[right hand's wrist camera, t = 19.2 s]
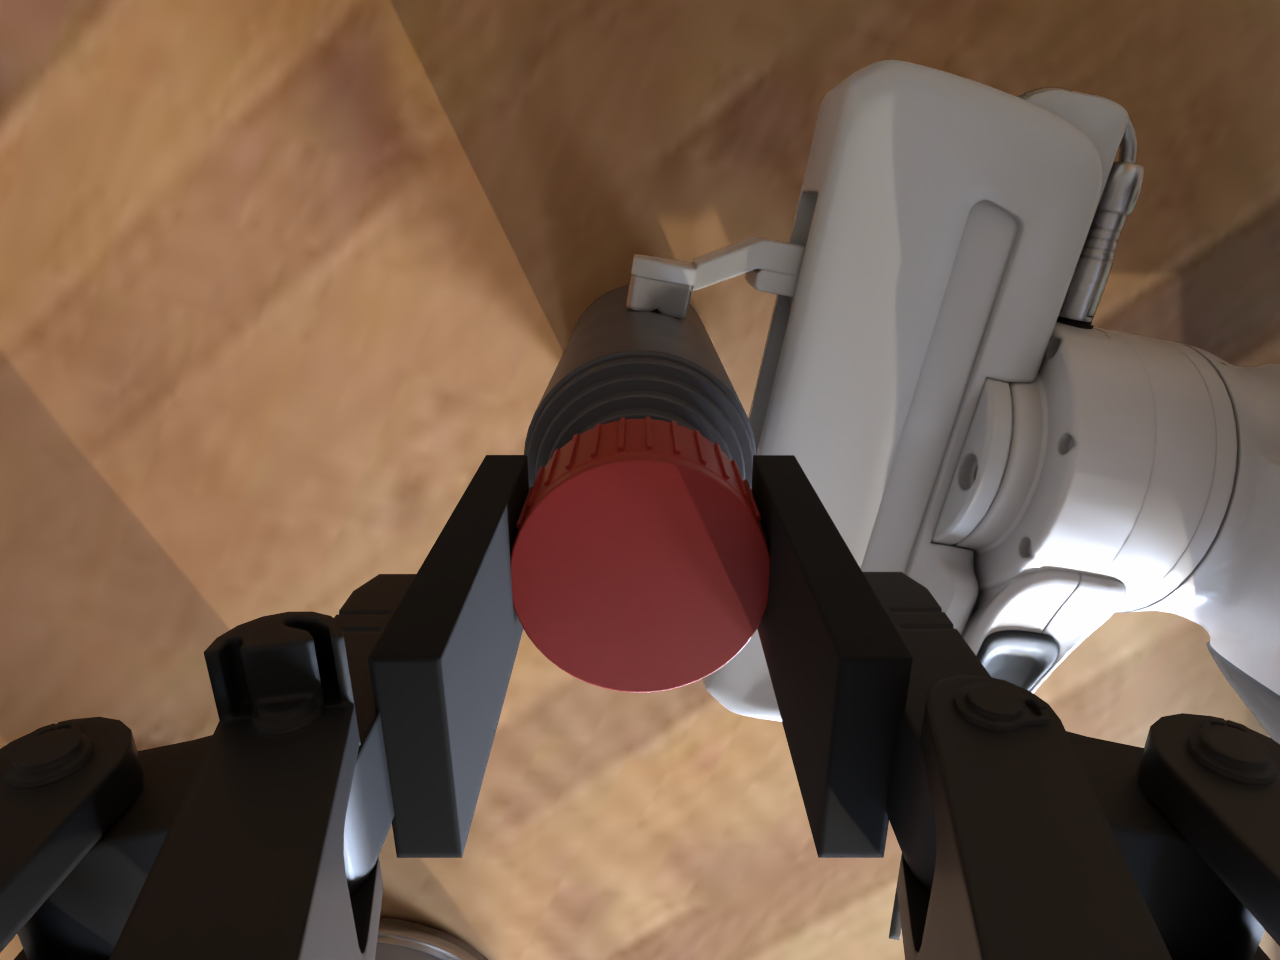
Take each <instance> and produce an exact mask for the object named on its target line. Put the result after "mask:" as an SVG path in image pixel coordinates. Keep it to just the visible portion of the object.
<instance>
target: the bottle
mask: <svg viewBox="0 0 1280 960" xmlns="http://www.w3.org/2000/svg"><path fill="white" fill-rule="evenodd" d="M628 289H629V286H624V287H620V288H617V289H615V290H612V291H610V292H608V293H606V294H604V295H603V296H601V297H600V298H599V299H597V300H596V301H595V302H594V303H593V304H592V305H591V306H590V307H589V308H588V309H587V310H586V311H585V313H584V314H583V315H582V317H581V319H580V320H579V322H578V324H577V326H576V328H575V330H574V332H573V334H572V337H571V339H570V341H569V343H568V345H567V347H566V349H565V351H564V353H563V355H562V357H561V359H560V362H559V364H558V366H557V368H556V370H555V372H554V374H553V376H552V378H551V380H550V382H549V385H548V387H547V389H546V391H545V393H544V395H543V397H542V399H541V401H540V403H539V405H538V407H537V410H536V412H535V414H534V416H533V419H532V421H531V424H530V426H529V429H528V433H527V437H526V441H525V450H524V455H527V458H528V476H529V489H530V487H533V486H534V483H535V480H536V477H537V475H538V472H539V469H540V468H541V466H542V467H545V466H546V465H547V463H548V462H549V461H550V459H551V458H552V457H553V454H554V451H555V450H556V449H557V448H558V449H559V450H560V449H561V448H562V447H563V446H565V445H566V444H567V443H568V442H570V441H571V440H572V439H573V436H574V435H575V434H578V435H580V434H582V433H584V432H586V431H588V430H590V429H592V428H595V427H596V424H599V423H600V424H601V425H603V424H607V423H610V422H614V421H620V418H624V417H625V420H626V419H646V417H651V419H654V420H662V421H666V422H670V423H671V421H676V424H678V425H680V426H683V427H686V428H688V429H691V430H693V431H695V429H696V430H698V431H699V432H700V435H702V436H704V437H705V438H707V439H708V440H710V441H711V442H712V443H714V444H715V443H718V444H719V445H720V447H721V450H722V451H723V452H724V453H725V454H726V455H727V456H728V458H729V459H730V460H731V461H732V460H735V461H736V463H737V466H738V469H739V471H740V474H741V476H742V478H743V480H746V479H747V481H748V483H749V486H750V488H751V485H752V467H753V455H756V445H755V440H754V435H753V431H752V428H751V425H750V422H749V419H748V417H747V415H746V413H745V411H744V409H743V407H742V405H741V402H740V400H739V398H738V396H737V394H736V392H735V390H734V388H733V386H732V384H731V382H730V379H729V377H728V375H727V373H726V371H725V369H724V367H723V365H722V363H721V361H720V359H719V357H718V354H717V352H716V350H715V348H714V346H713V344H712V342H711V340H710V338H709V336H708V334H707V332H706V329H705V327H704V325H703V323H702V321H701V320H700V318H699V316H698V315H697V313H696V312H695V311H694V309H693V308H692V307H691V306H690V305H688V309H687V314H686V319H682V318H676V317H670V316H667V315H664V314H662V313H661V312H660V311H659V310H658V309H655V310H653V311H650V312H643V311H637V310H633V309H629V308H627V307H626V303H627V296H628Z"/></svg>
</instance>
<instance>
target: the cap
mask: <svg viewBox="0 0 1280 960" xmlns="http://www.w3.org/2000/svg"><path fill="white" fill-rule="evenodd" d="M761 519H762V518H761V515H760V513H759V510H758V507H757V505H756V502H755V499H754V496H753V494H752V491H751V488H750V486H749V483H748V481H747V479H746V480H743V478H742V476H741V474H740V471H739V469H738V466H737V463H736V461H735V460H732V461H731V460H730V459H729V458H728V456H727V455H726V454H725V453H724V452H723V451H722V450H721V447H720V445H719V444H718V443H715V444H714V443H712V442H711V441H710V440H708V439H707V438H705V437H704V436H702V435H700V432H699V431H698V430H696V429H695V431H693V430H691V429H688V428H686V427H683V426H680V425H678V424H676V421H671V423H670V422H666V421H662V420H654V419H651V417H646V419H626V420H625V417H624V418H620V421H614V422H610V423H607V424H603V425H601V424H600V423H599V424H596V427H595V428H592V429H590V430H588V431H586V432H584V433H582V434H580V435H578V434H575V435H574V436H573V439H572V440H571V441H570V442H568V443H567V444H566V445H565V446H563V447H562V448H561V449H560V450H559V449H558V448H557V449H556V450H555V451H554V454H553V457H552V458H551V459H550V461H549V462H548V463H547V465H546V466H545V467H542V466H541V468H540V469H539V472H538V475H537V477H536V480H535V483H534V486H533V487H530V489H529V492H528V495H527V497H526V500H525V503H524V505H523V508H522V511H521V513H520V516H519V519H518V521H517V524H516V527H515V528H517V529H519V530H518V533H517V536H516V539H515V541H514V544H513V547H512V552H511V557H510V565H511V581H512V596H513V606H514V609H515V611H516V614H517V616H518V619H519V621H520V623H521V625H522V627H523V628H524V630H525V632H526V634H527V635H528V637H529V638H530V639H531V641H532V642H533V643H534V645H535V646H536V647H537V648H538V649H539V650H540V651H541V652H542V653H543V654H544V655H545V656H546V657H547V658H548V659H549V660H550V661H552V662H553V663H554V664H555V665H557V666H558V667H559V668H561V669H562V670H564V671H566V672H567V673H569V674H571V675H572V676H574V677H576V678H578V679H581V680H583V681H585V682H587V683H590V684H593V685H596V686H599V687H602V688H607V689H612V690H616V691H624V692H656V691H664V690H670V689H674V688H678V687H682V686H685V685H688V684H690V683H693V682H696V681H698V680H700V679H702V678H704V677H706V676H708V675H710V674H712V673H714V672H715V671H717V670H718V669H720V668H721V667H723V666H724V665H726V664H727V663H728V662H729V661H730V660H731V659H733V658H734V657H735V656H736V655H737V654H738V653H739V652H740V651H741V650H742V649H743V648H744V646H745V645H746V644H747V643H748V642H749V640H750V639H751V637H752V636H753V634H754V633H755V631H756V630H757V628H758V626H759V624H760V622H761V620H762V618H763V616H764V613H765V610H766V607H767V602H768V588H769V573H770V553H769V550H768V546H767V542H766V541H767V539H766V536H765V534H764V531H763V528H762V525H761V523H760V520H761Z"/></svg>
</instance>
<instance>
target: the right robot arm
mask: <svg viewBox="0 0 1280 960" xmlns="http://www.w3.org/2000/svg"><path fill="white" fill-rule="evenodd" d="M751 491H752V494H753V496H754V499H755V502H756V505H757V507H758V510H759V513H760V515H761V518H762V519H761V520H760V523H761V525H762V528H763V531H764V534H765V536H766V539H767V541H766V542H767V546H768V550H769V553H770V573H769V588H768V602H767V607H766V610H765V613H764V616H763V618H762V620H761V622H760V624H759V626H758V628H757V629H758V633H759V637H760V641H761V644H762V648H763V652H764V656H765V659H766V663H767V667H768V671H769V674H770V678H771V682H772V686H773V689H774V693H775V697H776V700H777V704H778V708H779V712H780V715H781V719H782V723H783V727H784V730H785V734H786V738H787V742H788V745H789V749H790V753H791V757H792V760H793V764H794V768H795V771H796V775H797V779H798V783H799V786H800V790H801V794H802V798H803V801H804V805H805V809H806V813H807V816H808V820H809V824H810V828H811V831H812V835H813V839H814V842H815V846H816V850H817V854H818V857H862V858H883V857H884V850H885V843H886V837H887V830H888V823H889V820H890V823H891V825H892V828H893V830H894V833H895V835H896V838H897V840H898V843H899V845H900V848H901V851H902V856H901V863H900V869H899V875H898V882H897V888H896V894H895V901H894V907H893V913H892V920H891V927H890V934H889V938H890V939H896V940H899V939H900V933H901V927H902V936H903V944H904V953H905V960H1270V959H1269V957H1268V956H1267V955H1266V954H1265V953H1264V952H1263V950H1262V949H1261V948H1260V947H1259V946H1258V945H1259V943H1260V940H1261V938H1262V935H1263V933H1264V930H1266V931H1267V932H1268V933H1269V935H1270V936H1271V937H1272V938H1273V939H1274V940H1275V941H1276V942H1277V944H1278V945H1279V946H1280V744H1278V743H1277V742H1275V741H1274V740H1272V739H1271V738H1269V737H1266V736H1264V735H1262V734H1260V733H1258V732H1255V731H1253V730H1251V729H1249V728H1247V727H1246V726H1244V725H1242V724H1239V723H1236V722H1232V721H1229V720H1227V721H1225V720H1224V719H1222V718H1217V717H1212V716H1203V715H1193V714H1183V713H1182V714H1176V715H1171V716H1165V717H1161V718H1160V719H1159V720H1158V721H1156V722H1155V723H1154V724H1153V725H1152V726H1151V727H1150V730H1149V734H1148V737H1147V741H1146V744H1145V748H1140V747H1135V746H1130V745H1125V744H1120V743H1115V742H1110V741H1105V740H1100V739H1095V738H1090V737H1086V736H1082V735H1078V734H1075V733H1071V732H1067V731H1065V729H1064V726H1063V724H1062V722H1061V720H1060V719H1059V717H1058V716H1057V715H1056V713H1055V712H1054V711H1053V710H1052V708H1051V707H1050V706H1049V704H1047V703H1046V702H1045V701H1043V700H1042V699H1040V698H1039V697H1037V696H1036V695H1034V694H1033V693H1032V692H1030V691H1029V690H1026V689H1024V688H1022V687H1019V686H1017V685H1015V684H1012V683H1010V682H1007V681H1005V680H1001V679H996V678H992V677H991V676H990V674H989V673H988V672H987V670H986V669H985V667H984V666H983V665H982V663H981V662H980V661H979V659H978V658H977V656H976V655H975V654H974V652H973V651H972V649H971V648H970V647H969V645H968V644H967V643H966V641H965V640H964V638H963V637H962V636H961V634H960V633H959V632H958V630H957V629H954V627H953V623H952V622H951V620H950V619H949V618H948V616H947V615H946V614H945V612H942V608H941V607H940V605H939V604H938V603H937V601H936V600H935V598H934V597H933V596H932V594H931V593H930V592H929V590H928V589H927V588H926V587H924V586H923V585H921V584H919V583H918V582H916V581H915V580H913V579H912V578H910V577H909V576H907V575H906V574H904V573H902V572H862V570H861V569H860V567H859V565H858V563H857V562H856V560H855V558H854V557H853V555H852V553H851V552H850V550H849V548H848V546H847V545H846V543H845V541H844V540H843V538H842V536H841V534H840V533H839V531H838V529H837V528H836V526H835V524H834V522H833V521H832V519H831V517H830V516H829V514H828V512H827V511H826V509H825V507H824V505H823V504H822V502H821V500H820V499H819V497H818V495H817V493H816V492H815V490H814V488H813V487H812V485H811V483H810V481H809V480H808V478H807V476H806V475H805V473H804V471H803V469H802V468H801V466H800V464H799V463H798V461H797V459H796V458H795V456H794V455H753V467H752V485H751ZM528 492H529V476H528V458H527V455H486V457H485V458H484V460H483V462H482V463H481V465H480V467H479V469H478V470H477V472H476V474H475V475H474V477H473V479H472V481H471V482H470V484H469V486H468V487H467V489H466V491H465V493H464V494H463V496H462V498H461V499H460V501H459V503H458V505H457V506H456V508H455V510H454V511H453V513H452V515H451V516H450V518H449V520H448V522H447V523H446V525H445V527H444V528H443V530H442V532H441V534H440V535H439V537H438V539H437V540H436V542H435V544H434V546H433V547H432V549H431V551H430V552H429V554H428V556H427V558H426V559H425V561H424V563H423V564H422V566H421V568H420V570H419V571H418V573H417V574H379V575H378V576H376V577H375V578H373V579H371V580H370V581H368V582H367V583H365V584H364V585H362V586H361V587H359V588H358V589H356V590H355V591H353V593H352V594H351V595H350V597H349V598H348V599H347V601H346V602H345V604H344V605H343V606H342V608H341V609H340V611H339V615H336V616H335V618H332V617H331V616H328V615H324V614H320V613H316V612H285V613H280V614H275V615H269V616H264V617H261V618H258V619H255V620H252V621H249V622H247V623H244V624H241V625H238V626H236V627H235V628H233V629H231V630H230V631H228V632H226V633H225V634H223V635H221V636H220V637H218V638H217V639H216V640H215V641H214V642H213V643H212V644H211V645H210V646H209V647H208V648H207V649H206V650H205V652H204V655H205V660H206V664H207V668H208V672H209V677H210V681H211V685H212V689H213V694H214V698H215V702H216V706H217V711H218V715H219V719H220V721H219V723H218V726H217V728H216V730H215V732H214V734H213V735H211V736H207V737H204V738H200V739H196V740H192V741H187V742H182V743H177V744H172V745H167V746H163V747H158V748H153V749H148V750H143V751H138V752H137V749H136V745H135V742H134V738H133V735H132V731H131V729H129V728H128V727H127V726H126V725H125V724H123V723H122V722H121V721H120V720H114V719H109V718H103V717H93V718H83V719H72V720H67V721H62V722H58V724H51V725H48V726H45V727H42V728H39V729H37V730H35V731H34V732H32V733H30V734H28V735H25V736H23V737H21V738H19V739H17V740H14V741H12V742H10V743H9V744H7V745H6V746H4V747H3V748H1V749H0V952H1V951H2V950H3V949H4V948H5V947H6V946H7V944H8V943H9V942H10V941H11V940H12V939H13V938H14V936H15V935H16V934H18V936H19V939H20V941H21V944H22V946H23V950H22V951H21V952H20V953H19V954H18V956H17V957H16V958H15V959H14V960H488V959H486V958H485V957H484V956H483V955H481V954H480V953H479V952H478V951H476V950H475V949H473V948H472V947H470V946H469V945H467V944H466V943H464V942H462V941H460V940H458V939H456V938H455V937H453V936H450V935H448V934H446V933H444V932H441V931H439V930H436V929H433V928H430V927H428V926H424V925H420V924H417V923H413V922H408V921H403V920H398V919H391V918H381V917H380V912H381V903H382V895H383V883H382V876H381V869H380V863H379V853H380V851H381V848H382V846H383V843H384V841H385V838H386V836H387V833H388V830H389V828H390V825H391V823H392V826H393V833H394V840H395V847H396V854H397V858H462V856H463V852H464V848H465V844H466V841H467V837H468V833H469V829H470V826H471V822H472V818H473V814H474V811H475V807H476V803H477V799H478V796H479V792H480V788H481V784H482V781H483V777H484V773H485V770H486V766H487V762H488V758H489V755H490V751H491V747H492V743H493V740H494V736H495V732H496V728H497V725H498V721H499V717H500V713H501V710H502V706H503V702H504V699H505V695H506V691H507V687H508V684H509V680H510V676H511V672H512V669H513V665H514V661H515V657H516V654H517V650H518V646H519V642H520V639H521V635H522V631H523V627H522V625H521V623H520V621H519V619H518V616H517V614H516V611H515V609H514V606H513V596H512V581H511V565H510V557H511V552H512V547H513V544H514V541H515V539H516V536H517V533H518V530H519V529H517V528H515V527H516V524H517V521H518V519H519V516H520V513H521V511H522V508H523V505H524V503H525V500H526V497H527V495H528Z"/></svg>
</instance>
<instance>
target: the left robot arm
mask: <svg viewBox="0 0 1280 960" xmlns="http://www.w3.org/2000/svg"><path fill="white" fill-rule="evenodd" d="M1119 146H1120V155H1119V162H1114V160H1115V157H1116V154H1117V151H1118V148H1119ZM1136 154H1137V139H1136V133H1135V129H1134V126H1133V124H1132V122H1131V120H1130V118H1129V116H1128V113H1127V111H1126V110H1125V109H1124V108H1123V107H1122V106H1121V105H1119V104H1118V103H1116V102H1114V101H1112V100H1110V99H1108V98H1106V97H1104V96H1100V95H1095V94H1090V93H1084V92H1079V91H1074V90H1069V89H1064V88H1059V87H1044V88H1038V89H1034V90H1031V91H1028V92H1025V93H1024V94H1022V95H1020V96H1018V97H1017V96H1014V95H1011V94H1009V93H1006V92H1004V91H1001V90H998V89H996V88H993V87H990V86H988V85H985V84H982V83H979V82H977V81H974V80H971V79H968V78H965V77H961V76H958V75H955V74H952V73H949V72H945V71H942V70H938V69H934V68H931V67H927V66H923V65H919V64H915V63H910V62H906V61H900V60H883V61H878V62H874V63H872V64H869V65H867V66H865V67H863V68H861V69H859V70H857V71H856V72H854V73H853V74H851V75H850V76H848V77H847V78H845V79H844V80H843V81H842V82H840V83H839V84H838V85H836V86H835V87H834V88H833V89H831V90H830V91H829V92H828V93H827V94H826V95H825V97H824V98H823V100H822V103H821V105H820V110H819V114H818V118H817V122H816V126H815V131H814V135H813V139H812V144H811V148H810V152H809V157H808V161H807V166H806V170H805V174H804V179H803V183H802V187H801V192H800V196H799V200H798V205H797V209H796V213H795V218H794V222H793V227H792V231H791V235H790V240H789V242H785V241H779V240H773V239H767V238H762V237H756V236H752V237H749V238H747V239H744V240H741V241H739V242H736V243H734V244H731V245H728V246H726V247H723V248H720V249H718V250H715V251H713V252H710V253H707V254H705V255H702V256H700V257H697V258H694V259H693V261H692V263H688V262H683V261H677V260H671V259H666V258H660V257H654V256H649V255H639V254H634V258H633V265H632V271H631V276H630V283H629V289H628V296H627V303H626V307H627V308H629V309H633V310H637V311H643V312H650V311H653V310H655V309H658V310H659V311H660V312H661V313H662V314H664V315H667V316H670V317H676V318H682V319H686V314H687V309H688V305H689V300H690V295H691V290H692V291H693V292H694V291H696V290H699V289H702V288H705V287H707V286H710V285H713V284H716V283H718V282H721V281H724V280H727V279H729V278H732V277H735V276H738V275H741V274H743V273H746V277H745V278H746V280H747V282H748V283H749V284H750V285H752V286H753V287H754V288H755V289H757V290H759V291H764V292H769V293H774V294H777V296H776V301H775V305H774V309H773V314H772V318H771V322H770V327H769V331H768V335H767V340H766V344H765V349H764V353H763V357H762V362H761V366H760V370H759V375H758V379H757V383H756V388H755V392H754V396H753V401H752V405H751V409H750V414H749V418H748V419H749V422H750V425H751V428H752V431H753V435H754V440H755V445H756V455H794V456H795V458H796V459H797V461H798V463H799V464H800V466H801V468H802V469H803V471H804V473H805V475H806V476H807V478H808V480H809V481H810V483H811V485H812V487H813V488H814V490H815V492H816V493H817V495H818V497H819V499H820V500H821V502H822V504H823V505H824V507H825V509H826V511H827V512H828V514H829V516H830V517H831V519H832V521H833V522H834V524H835V526H836V528H837V529H838V531H839V533H840V534H841V536H842V538H843V540H844V541H845V543H846V545H847V546H848V548H849V550H850V552H851V553H852V555H853V557H854V558H855V560H856V562H857V563H858V565H859V567H860V569H861V570H862V572H902V573H904V574H906V575H907V576H909V577H910V578H912V579H913V580H915V581H916V582H918V583H919V584H921V585H923V586H924V587H926V588H927V589H928V590H929V592H930V593H931V594H932V596H933V597H934V598H935V600H936V601H937V603H938V604H939V605H940V607H941V608H942V612H945V614H946V615H947V616H948V618H949V619H950V620H951V622H952V623H953V627H954V629H957V630H958V632H959V633H960V634H961V636H962V637H963V638H964V640H965V641H966V643H967V644H968V645H969V647H970V648H971V649H972V651H973V652H974V654H975V655H976V656H977V658H978V659H979V661H980V662H981V663H982V665H983V666H984V667H985V669H986V670H987V672H988V673H989V674H990V676H991V677H992V678H996V679H1001V680H1005V681H1007V682H1010V683H1012V684H1015V685H1017V686H1019V687H1022V688H1024V689H1026V690H1029V691H1030V692H1032V693H1034V692H1035V691H1036V690H1037V689H1038V687H1039V686H1040V685H1041V684H1042V683H1043V682H1044V681H1045V679H1046V678H1047V677H1048V676H1049V675H1050V674H1051V673H1052V672H1053V671H1054V670H1055V668H1056V667H1057V666H1058V665H1059V664H1060V663H1061V662H1062V661H1063V660H1064V659H1065V658H1066V657H1067V656H1068V655H1069V654H1070V653H1071V652H1072V651H1073V650H1074V649H1075V648H1076V647H1077V646H1078V645H1079V644H1080V643H1081V642H1082V641H1083V640H1084V639H1086V638H1087V637H1088V636H1089V635H1090V634H1091V633H1093V632H1094V631H1095V630H1096V629H1097V628H1098V627H1100V626H1101V625H1102V624H1103V623H1104V622H1105V621H1107V620H1108V619H1109V618H1110V617H1111V616H1112V615H1113V614H1114V613H1125V612H1136V611H1162V612H1169V613H1173V614H1176V615H1179V616H1182V617H1185V618H1187V619H1189V620H1191V621H1193V622H1195V623H1197V624H1199V625H1201V626H1203V627H1204V628H1205V629H1206V630H1207V632H1208V633H1209V635H1210V642H1208V643H1207V647H1208V649H1209V651H1210V653H1211V655H1212V657H1213V659H1214V661H1215V662H1216V664H1217V666H1218V667H1219V669H1220V670H1221V672H1222V674H1223V675H1224V676H1225V678H1226V679H1227V681H1228V682H1229V683H1230V685H1231V686H1232V687H1233V688H1234V690H1235V691H1236V692H1237V694H1238V695H1239V696H1240V698H1241V699H1242V700H1243V702H1244V703H1245V704H1246V706H1247V707H1248V708H1249V709H1250V711H1251V712H1252V713H1253V714H1254V716H1255V717H1256V718H1257V719H1258V721H1259V722H1260V723H1261V725H1262V726H1263V727H1264V729H1265V730H1266V731H1267V733H1268V734H1269V735H1270V736H1271V738H1272V739H1273V740H1274V741H1275V742H1277V743H1278V744H1280V364H1266V365H1257V366H1250V367H1239V366H1234V365H1232V364H1229V363H1227V362H1226V361H1224V360H1222V359H1221V358H1219V357H1217V356H1215V355H1213V354H1211V353H1209V352H1207V351H1205V350H1203V349H1200V348H1197V347H1194V346H1191V345H1187V344H1184V343H1180V342H1174V341H1167V340H1162V339H1157V338H1151V337H1146V336H1140V335H1134V334H1129V333H1123V332H1118V331H1112V330H1107V329H1101V328H1097V327H1094V326H1093V325H1091V323H1092V320H1093V317H1094V315H1095V312H1096V309H1097V307H1098V304H1099V301H1100V299H1101V296H1102V293H1103V291H1104V288H1105V285H1106V283H1107V280H1108V277H1109V274H1110V271H1111V267H1112V264H1113V263H1111V262H1112V261H1113V260H1114V256H1115V253H1114V251H1116V247H1117V243H1116V242H1117V241H1118V240H1119V237H1120V232H1121V231H1122V229H1123V226H1124V224H1125V221H1126V219H1127V216H1130V215H1131V213H1132V211H1133V209H1134V207H1135V205H1136V203H1137V200H1138V198H1139V195H1140V191H1141V188H1142V184H1143V179H1144V170H1145V168H1144V167H1143V166H1141V165H1138V164H1135V161H1136ZM702 680H703V684H704V687H705V688H706V690H707V691H708V692H709V693H710V694H711V695H712V696H713V697H714V698H715V699H716V700H717V701H718V702H720V703H721V704H722V705H723V706H724V707H725V708H726V709H728V710H730V711H732V712H734V713H737V714H740V715H744V716H749V717H754V718H760V719H767V720H774V721H781V722H782V719H781V715H780V712H779V708H778V704H777V700H776V697H775V693H774V689H773V686H772V682H771V678H770V674H769V671H768V667H767V663H766V659H765V656H764V652H763V648H762V644H761V641H760V637H759V633H758V629H757V630H756V631H755V633H754V634H753V636H752V637H751V639H750V640H749V642H748V643H747V644H746V645H745V646H744V648H743V649H742V650H741V651H740V652H739V653H738V654H737V655H736V656H735V657H734V658H733V659H731V660H730V661H729V662H728V663H727V664H726V665H724V666H723V667H721V668H720V669H718V670H717V671H715V672H714V673H712V674H710V675H708V676H706V677H704V678H702Z"/></svg>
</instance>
